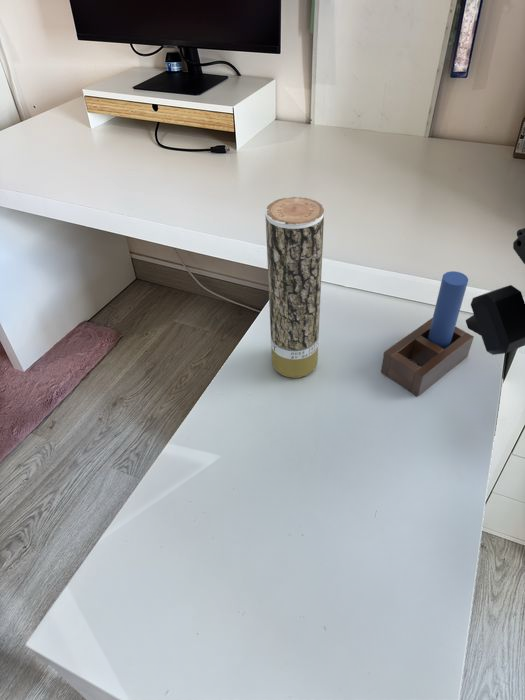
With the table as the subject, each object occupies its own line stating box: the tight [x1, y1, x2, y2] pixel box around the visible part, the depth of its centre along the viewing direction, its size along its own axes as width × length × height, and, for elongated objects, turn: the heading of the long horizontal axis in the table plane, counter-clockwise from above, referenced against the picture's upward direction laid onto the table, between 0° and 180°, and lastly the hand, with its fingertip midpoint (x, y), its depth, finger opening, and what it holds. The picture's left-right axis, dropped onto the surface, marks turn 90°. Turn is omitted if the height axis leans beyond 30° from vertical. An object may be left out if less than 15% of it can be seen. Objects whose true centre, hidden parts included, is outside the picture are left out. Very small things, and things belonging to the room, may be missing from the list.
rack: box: [380, 317, 475, 397], centre depth 73 cm, size 7×12×4 cm, turn 130°
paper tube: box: [265, 196, 325, 379], centre depth 67 cm, size 7×7×25 cm
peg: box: [428, 270, 469, 349], centre depth 71 cm, size 3×3×14 cm
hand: (497, 312), depth 61 cm, fingers open, 9 cm apart
